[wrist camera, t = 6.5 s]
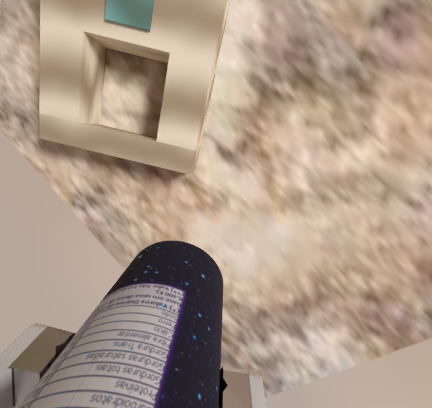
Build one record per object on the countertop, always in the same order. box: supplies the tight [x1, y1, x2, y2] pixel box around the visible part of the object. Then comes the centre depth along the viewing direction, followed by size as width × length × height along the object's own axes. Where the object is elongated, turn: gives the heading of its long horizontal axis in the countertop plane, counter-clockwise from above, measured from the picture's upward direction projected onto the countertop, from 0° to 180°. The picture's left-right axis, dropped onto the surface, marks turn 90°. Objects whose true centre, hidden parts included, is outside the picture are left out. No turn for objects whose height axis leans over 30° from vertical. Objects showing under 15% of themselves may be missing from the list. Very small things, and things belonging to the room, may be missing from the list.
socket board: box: [39, 0, 230, 174], centre depth 23 cm, size 17×16×4 cm
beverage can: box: [19, 241, 223, 408], centre depth 9 cm, size 6×6×12 cm
